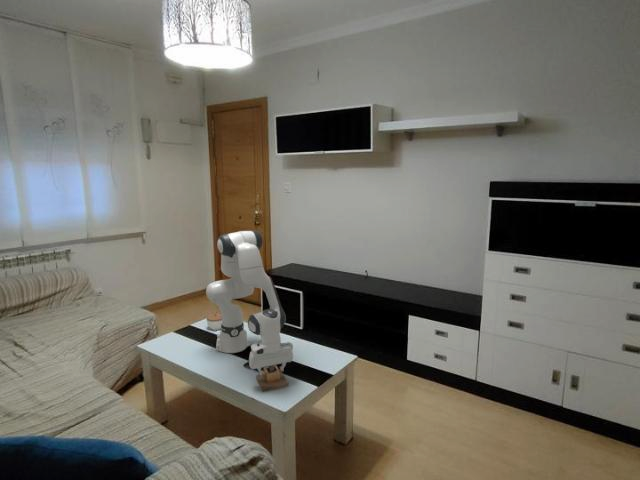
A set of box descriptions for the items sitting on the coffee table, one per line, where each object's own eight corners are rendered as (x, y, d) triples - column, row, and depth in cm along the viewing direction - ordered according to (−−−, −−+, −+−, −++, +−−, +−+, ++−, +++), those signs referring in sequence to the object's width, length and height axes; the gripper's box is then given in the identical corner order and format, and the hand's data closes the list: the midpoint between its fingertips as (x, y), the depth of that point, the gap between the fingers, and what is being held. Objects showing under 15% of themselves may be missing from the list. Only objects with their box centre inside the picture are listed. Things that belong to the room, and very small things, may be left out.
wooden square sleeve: (263, 377, 183) (263, 367, 182) (276, 374, 186) (276, 365, 185) (267, 384, 178) (267, 373, 177) (280, 381, 180) (279, 371, 179)
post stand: (256, 378, 185) (255, 359, 183) (280, 373, 190) (280, 355, 188) (262, 391, 174) (262, 372, 172) (288, 386, 179) (288, 366, 177)
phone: (266, 372, 189) (242, 365, 196) (266, 375, 189) (242, 367, 196) (276, 365, 195) (252, 358, 202) (276, 367, 196) (252, 360, 203)
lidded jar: (210, 333, 234) (209, 318, 232) (204, 327, 243) (204, 312, 241) (227, 329, 240) (227, 314, 238) (221, 323, 249) (220, 309, 247)
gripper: (290, 338, 185) (290, 365, 188) (247, 346, 177) (248, 374, 180) (294, 344, 180) (295, 371, 182) (250, 352, 172) (251, 381, 174)
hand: (271, 373), depth 181 cm, fingers open, 8 cm apart
